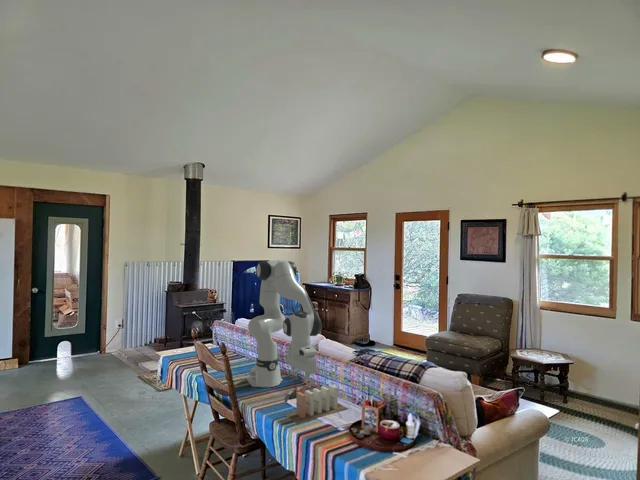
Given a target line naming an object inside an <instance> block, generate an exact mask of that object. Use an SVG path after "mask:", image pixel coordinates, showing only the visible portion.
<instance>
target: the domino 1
mask: <svg viewBox="0 0 640 480" xmlns="http://www.w3.org/2000/svg"><path fill="white" fill-rule="evenodd" d="M295 400H296V404H295V405H296V410H295V411H296V415H298V416H300V417H301V418H305V417H306V395H304V394H303V393H301V392H297V393H296V398H295Z"/></svg>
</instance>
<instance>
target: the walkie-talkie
mask: <svg viewBox="0 0 640 480" xmlns="http://www.w3.org/2000/svg"><path fill="white" fill-rule="evenodd" d="M306 390H309V388H308V386H306V385H296V386H295V387H294V388H293V390H290V391H288V393H287V394H286V397H287V398H286V399H285V400H284V403H285V402H288V400H289V399H296V393H297V392H301V393H303V394H304V395H305V391H306Z"/></svg>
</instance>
